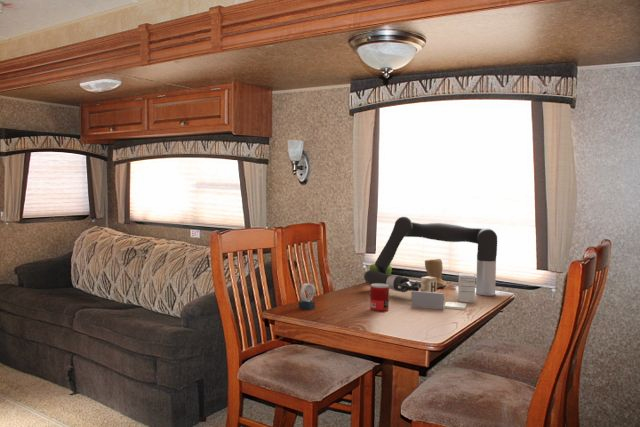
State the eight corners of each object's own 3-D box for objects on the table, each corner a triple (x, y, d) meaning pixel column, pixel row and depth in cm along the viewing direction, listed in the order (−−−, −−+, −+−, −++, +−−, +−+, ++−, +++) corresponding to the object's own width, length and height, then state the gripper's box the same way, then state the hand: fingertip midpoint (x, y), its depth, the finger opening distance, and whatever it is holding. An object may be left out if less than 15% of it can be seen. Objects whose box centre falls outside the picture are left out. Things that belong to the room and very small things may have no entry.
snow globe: (316, 307, 230) (317, 282, 229) (307, 311, 223) (307, 285, 222) (306, 306, 233) (306, 281, 232) (296, 309, 226) (296, 284, 225)
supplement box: (457, 298, 253) (458, 272, 252) (473, 299, 251) (474, 273, 251) (458, 301, 246) (459, 275, 245) (474, 302, 244) (475, 275, 243)
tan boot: (426, 282, 295) (426, 256, 294) (447, 284, 291) (448, 257, 290) (421, 287, 281) (422, 259, 280) (444, 289, 277) (444, 261, 276)
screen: (411, 306, 235) (412, 290, 235) (443, 308, 230) (444, 293, 230) (411, 306, 233) (411, 291, 233) (443, 309, 229) (443, 293, 228)
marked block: (420, 303, 242) (421, 277, 241) (427, 301, 245) (428, 276, 244) (429, 305, 238) (430, 278, 237) (436, 303, 241) (437, 277, 240)
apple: (385, 285, 284) (385, 265, 284) (365, 283, 291) (365, 263, 291) (395, 282, 295) (395, 262, 294) (375, 280, 302) (376, 260, 301)
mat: (446, 304, 240) (446, 301, 240) (466, 305, 237) (466, 303, 237) (444, 308, 232) (444, 305, 232) (465, 309, 229) (465, 307, 229)
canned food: (387, 312, 222) (388, 286, 222) (369, 311, 224) (369, 285, 223) (389, 308, 230) (389, 283, 229) (371, 307, 232) (371, 282, 231)
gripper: (388, 277, 251) (414, 281, 239) (407, 274, 260) (433, 278, 248) (387, 292, 251) (414, 298, 239) (407, 289, 260) (433, 294, 248)
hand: (424, 288), depth 243 cm, fingers open, 8 cm apart
